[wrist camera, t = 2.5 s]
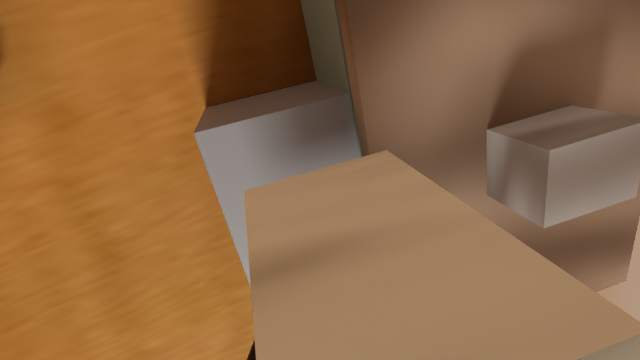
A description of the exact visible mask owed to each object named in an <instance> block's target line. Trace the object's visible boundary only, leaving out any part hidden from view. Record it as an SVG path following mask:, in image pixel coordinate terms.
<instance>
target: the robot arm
mask: <svg viewBox="0 0 640 360" xmlns="http://www.w3.org/2000/svg"><path fill="white" fill-rule="evenodd" d="M247 360H256V353H255V339H254V342H253V345H252V347H251V350H250V353H249V355H248V358H247Z"/></svg>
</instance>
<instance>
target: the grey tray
mask: <svg viewBox="0 0 640 360" xmlns="http://www.w3.org/2000/svg"><path fill="white" fill-rule="evenodd" d="M301 5H302V10H303V15H304V20H305V25H306V30H307V35H308V40H309V45H310V50H311V55H312V60H313V65H314V70H315V75H316V81H312V82H308V83H304V84H300V85H296V86H292V87H287V88H283V89H279V90H275V91H271V92H267V93H263V94H259V95H255V96H251V97H247V98H243V99H239V100H235V101H231V102H227V103H222V104H218V105H214V106H210V107H206V108H205V110H204V112H203V114H202V117H201V119H200V121H199V123H198V125H197V127H196V129H195V132H194V135H195V138H196V141H197V143H198V146H199V149H200V151H201V154H202V157H203V160H204V162H205V165H206V168H207V170H208V173H209V176H210V178H211V181H212V184H213V187H214V189H215V192H216V195H217V197H218V200H219V203H220V206H221V208H222V211H223V214H224V216H225V219H226V222H227V224H228V227H229V230H230V233H231V235H232V238H233V241H234V243H235V246H236V249H237V252H238V254H239V257H240V260H241V262H242V265H243V268H244V271H245V273H246V276H247V279H248V281H249V284H250V270H249V256H248V242H247V229H246V215H245V201H244V190H248V189H251V188H255V187H258V186H262V185H265V184H269V183H272V182H276V181H279V180H283V179H286V178H290V177H294V176H297V175H301V174H304V173H308V172H311V171H315V170H318V169H322V168H325V167H329V166H332V165H336V164H339V163H343V162H346V161H350V160H353V159H357V158H360V157H362V154H361V148H360V142H359V136H358V130H357V124H356V118H355V112H354V105H353V99H352V93H351V87H350V81H349V75H348V69H347V63H346V56H345V50H344V44H343V38H342V32H341V26H340V20H339V14H338V8H337V1H336V0H301ZM250 287H251V284H250Z"/></svg>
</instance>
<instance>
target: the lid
mask: <svg viewBox="0 0 640 360" xmlns="http://www.w3.org/2000/svg"><path fill="white" fill-rule="evenodd" d="M336 1H337V8H338V14H339V20H340V26H341V32H342V38H343V44H344V50H345V56H346V63H347V69H348V75H349V81H350V87H351V93H352V99H353V105H354V112H355V118H356V124H357V130H358V136H359V142H360V148H361V154H362V157H364V156H368V155H371V154H375V153H378V152H382V151H385V150H387V151H389V152H390V153H392V154H393V155H395V156H396V157H398V158H399V159H401V160H402V161H404V162H405V163H407V164H408V165H409V166H411V167H412V168H414V169H415V170H417V171H418V172H420V173H421V174H423V175H424V176H426V177H427V178H429V179H430V180H432V181H433V182H434V183H436V184H437V185H439V186H440V187H442V188H443V189H445V190H446V191H448V192H449V193H451V194H452V195H454V196H455V197H457V198H458V199H460V200H461V201H462V202H464V203H465V204H467V205H468V206H470V207H471V208H473V209H474V210H476V211H477V212H479V213H480V214H482V215H483V216H485V217H486V218H487V219H489V220H490V221H492V222H493V223H495V224H496V225H498V226H499V227H501V228H502V229H504V230H505V231H507V232H508V233H510V234H511V235H512V236H514V237H515V238H517V239H518V240H520V241H521V242H523V243H524V244H526V245H527V246H529V247H530V248H532V249H533V250H535V251H536V252H538V253H539V254H540V255H542V256H543V257H545V258H546V259H548V260H549V261H551V262H552V263H554V264H555V265H557V266H558V267H560V268H561V269H563V270H564V271H565V272H567V273H568V274H570V275H571V276H573V277H574V278H576V279H577V280H579V281H580V282H582V283H583V284H585V285H586V286H588V287H589V288H590V289H592V290H593V291H595V292H597V291H600V290H603V289H605V288H608V287H611V286H613V285H616V284H619V283H621V282H624V281H626V278H627V273H628V268H629V264H630V259H631V254H632V249H633V244H634V240H635V235H636V230H637V226H638V221H639V216H640V0H336Z"/></svg>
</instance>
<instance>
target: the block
mask: <svg viewBox="0 0 640 360" xmlns="http://www.w3.org/2000/svg"><path fill="white" fill-rule="evenodd" d="M244 201H245V215H246V229H247V242H248V256H249V270H250V284H251V297H252V311H253V325H254V339H255V353H256V360H640V322H639V321H638V320H636V319H635V318H633V317H632V316H630V315H629V314H627V313H626V312H624V311H623V310H621V309H620V308H618V307H617V306H615V305H614V304H612V303H611V302H609V301H608V300H606V299H605V298H604V297H602V296H601V295H599V294H597V293H596V292H595V291H593V290H592V289H590V288H589V287H588V286H586V285H585V284H583V283H582V282H580V281H579V280H577V279H576V278H574V277H573V276H571V275H570V274H568V273H567V272H565V271H564V270H563V269H561V268H560V267H558V266H557V265H555V264H554V263H552V262H551V261H549V260H548V259H546V258H545V257H543V256H542V255H540V254H539V253H538V252H536V251H535V250H533V249H532V248H530V247H529V246H527V245H526V244H524V243H523V242H521V241H520V240H518V239H517V238H515V237H514V236H512V235H511V234H510V233H508V232H507V231H505V230H504V229H502V228H501V227H499V226H498V225H496V224H495V223H493V222H492V221H490V220H489V219H487V218H486V217H485V216H483V215H482V214H480V213H479V212H477V211H476V210H474V209H473V208H471V207H470V206H468V205H467V204H465V203H464V202H462V201H461V200H460V199H458V198H457V197H455V196H454V195H452V194H451V193H449V192H448V191H446V190H445V189H443V188H442V187H440V186H439V185H437V184H436V183H434V182H433V181H432V180H430V179H429V178H427V177H426V176H424V175H423V174H421V173H420V172H418V171H417V170H415V169H414V168H412V167H411V166H409V165H408V164H407V163H405V162H404V161H402V160H401V159H399V158H398V157H396V156H395V155H393V154H392V153H390V152H389V151H387V150H385V151H382V152H378V153H375V154H371V155H368V156H364V157H360V158H357V159H353V160H350V161H346V162H343V163H339V164H336V165H332V166H329V167H325V168H322V169H318V170H315V171H311V172H308V173H304V174H301V175H297V176H294V177H290V178H286V179H283V180H279V181H276V182H272V183H269V184H265V185H262V186H258V187H255V188H251V189H248V190H244Z"/></svg>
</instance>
